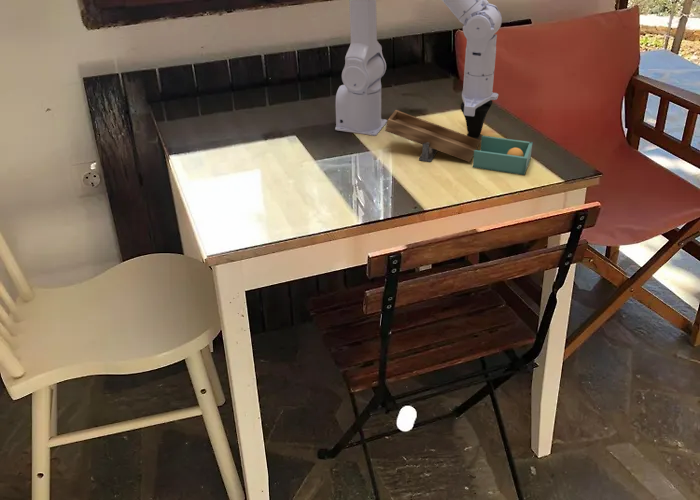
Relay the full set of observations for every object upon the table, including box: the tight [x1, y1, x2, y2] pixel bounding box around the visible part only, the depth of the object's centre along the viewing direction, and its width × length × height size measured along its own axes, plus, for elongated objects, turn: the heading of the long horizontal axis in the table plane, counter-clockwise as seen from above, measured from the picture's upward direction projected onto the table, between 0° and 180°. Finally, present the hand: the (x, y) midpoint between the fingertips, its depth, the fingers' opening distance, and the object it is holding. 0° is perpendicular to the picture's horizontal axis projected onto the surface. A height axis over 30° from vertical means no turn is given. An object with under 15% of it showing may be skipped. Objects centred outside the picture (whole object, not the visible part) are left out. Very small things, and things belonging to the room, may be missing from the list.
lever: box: [384, 109, 483, 163], centre depth 146 cm, size 18×12×3 cm, turn 70°
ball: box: [507, 148, 524, 157], centre depth 140 cm, size 3×3×3 cm
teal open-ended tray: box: [472, 134, 534, 176], centre depth 141 cm, size 10×8×4 cm
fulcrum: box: [418, 143, 439, 163], centre depth 145 cm, size 2×8×4 cm, turn 159°
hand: (474, 135), depth 147 cm, fingers closed, pressing on lever
